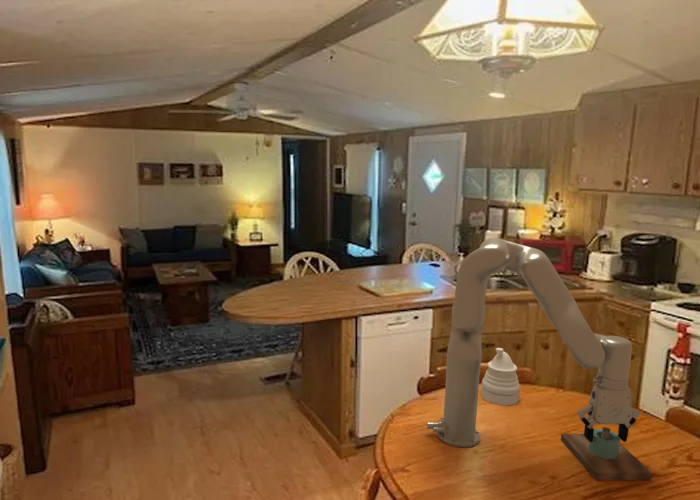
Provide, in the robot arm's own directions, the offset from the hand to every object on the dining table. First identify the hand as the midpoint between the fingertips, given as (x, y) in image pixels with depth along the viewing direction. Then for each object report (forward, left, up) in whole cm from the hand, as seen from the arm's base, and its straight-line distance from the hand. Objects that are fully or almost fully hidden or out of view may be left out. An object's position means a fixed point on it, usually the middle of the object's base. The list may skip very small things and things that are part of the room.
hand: (605, 439), depth 145 cm
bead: (0, 0, -4) cm, 4 cm away
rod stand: (0, 0, -6) cm, 6 cm away
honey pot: (-16, +39, -6) cm, 43 cm away
